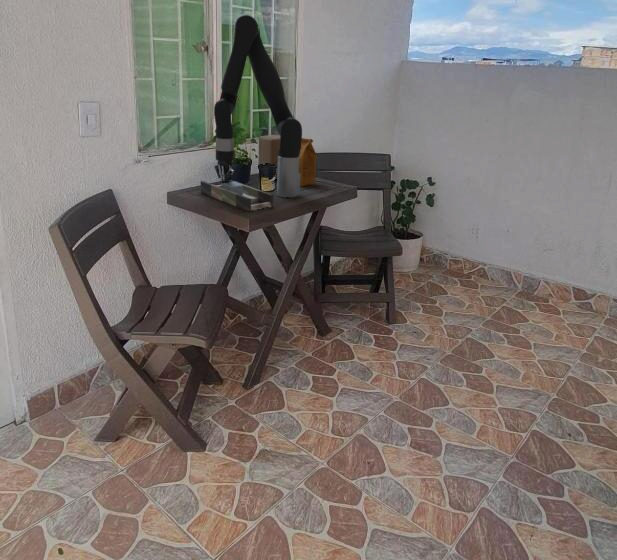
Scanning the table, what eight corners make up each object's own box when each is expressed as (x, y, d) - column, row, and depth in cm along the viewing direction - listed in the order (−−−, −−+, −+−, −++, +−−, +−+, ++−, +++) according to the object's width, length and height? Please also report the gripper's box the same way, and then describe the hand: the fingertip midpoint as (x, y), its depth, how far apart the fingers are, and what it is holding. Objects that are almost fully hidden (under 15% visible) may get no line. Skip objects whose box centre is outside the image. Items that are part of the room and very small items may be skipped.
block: (257, 177, 275) (257, 136, 267) (272, 174, 281) (273, 134, 273) (270, 181, 268) (271, 139, 260) (286, 178, 275) (287, 137, 267)
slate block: (233, 191, 240) (233, 181, 238) (242, 194, 235) (242, 185, 233) (221, 192, 236) (221, 183, 234) (230, 196, 231) (230, 187, 230)
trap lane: (224, 188, 251) (224, 177, 249) (273, 206, 227) (273, 194, 225) (200, 192, 243) (200, 181, 241) (248, 211, 219) (248, 199, 217)
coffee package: (304, 180, 274) (306, 134, 265) (317, 186, 264) (320, 138, 255) (286, 181, 269) (288, 135, 260) (299, 187, 259) (301, 139, 250)
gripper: (241, 150, 230) (240, 191, 237) (223, 145, 239) (223, 185, 246) (225, 152, 226) (226, 194, 233) (208, 146, 235) (209, 187, 242)
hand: (224, 189), depth 239 cm, fingers closed
